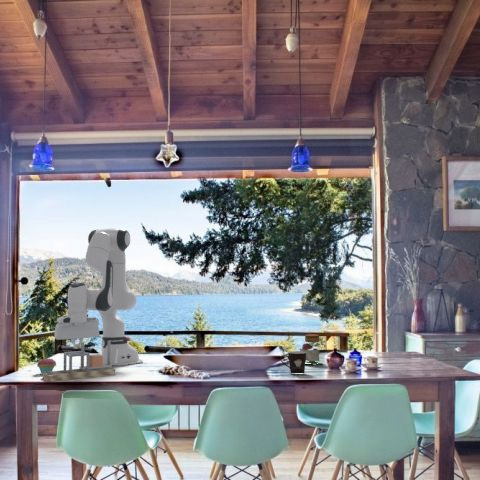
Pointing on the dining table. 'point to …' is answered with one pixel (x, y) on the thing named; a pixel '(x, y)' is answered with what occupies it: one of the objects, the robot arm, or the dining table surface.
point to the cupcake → (46, 364)
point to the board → (77, 374)
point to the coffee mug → (296, 361)
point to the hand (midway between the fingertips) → (77, 348)
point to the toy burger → (311, 354)
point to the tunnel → (73, 354)
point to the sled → (96, 359)
